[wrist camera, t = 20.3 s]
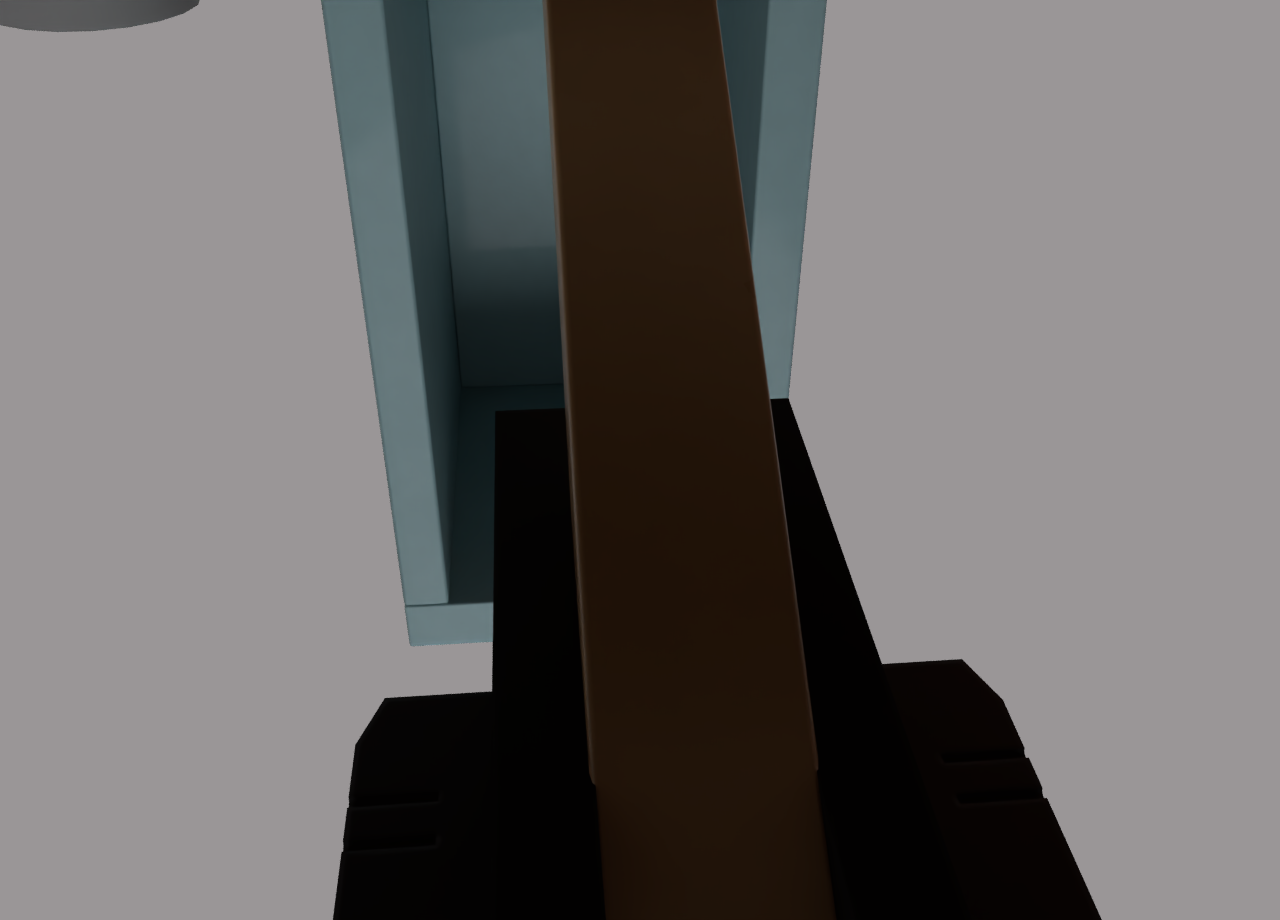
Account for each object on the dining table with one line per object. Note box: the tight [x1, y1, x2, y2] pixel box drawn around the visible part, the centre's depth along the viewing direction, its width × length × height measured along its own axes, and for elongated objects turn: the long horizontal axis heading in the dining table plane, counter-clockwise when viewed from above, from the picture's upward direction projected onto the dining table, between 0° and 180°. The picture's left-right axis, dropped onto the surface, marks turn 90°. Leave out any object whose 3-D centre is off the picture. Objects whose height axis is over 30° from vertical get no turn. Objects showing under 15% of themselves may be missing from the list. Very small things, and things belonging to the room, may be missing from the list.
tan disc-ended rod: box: [542, 0, 837, 920], centre depth 12 cm, size 19×6×2 cm
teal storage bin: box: [321, 0, 827, 646], centre depth 30 cm, size 10×12×30 cm
